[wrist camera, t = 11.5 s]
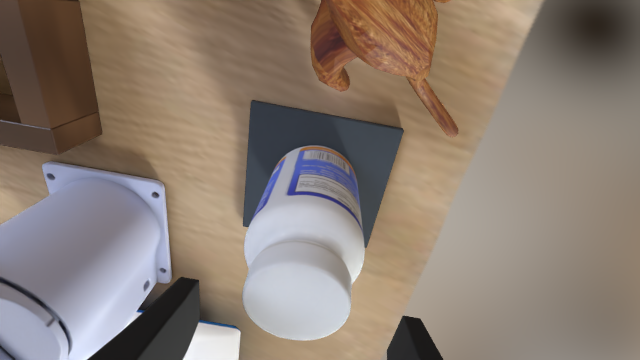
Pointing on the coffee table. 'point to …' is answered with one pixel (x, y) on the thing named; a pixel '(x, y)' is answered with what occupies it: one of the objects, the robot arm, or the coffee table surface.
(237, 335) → the plate
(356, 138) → the mat
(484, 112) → the coffee table surface
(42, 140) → the rack
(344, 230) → the pill bottle
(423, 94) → the cat figurine
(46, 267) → the robot arm
